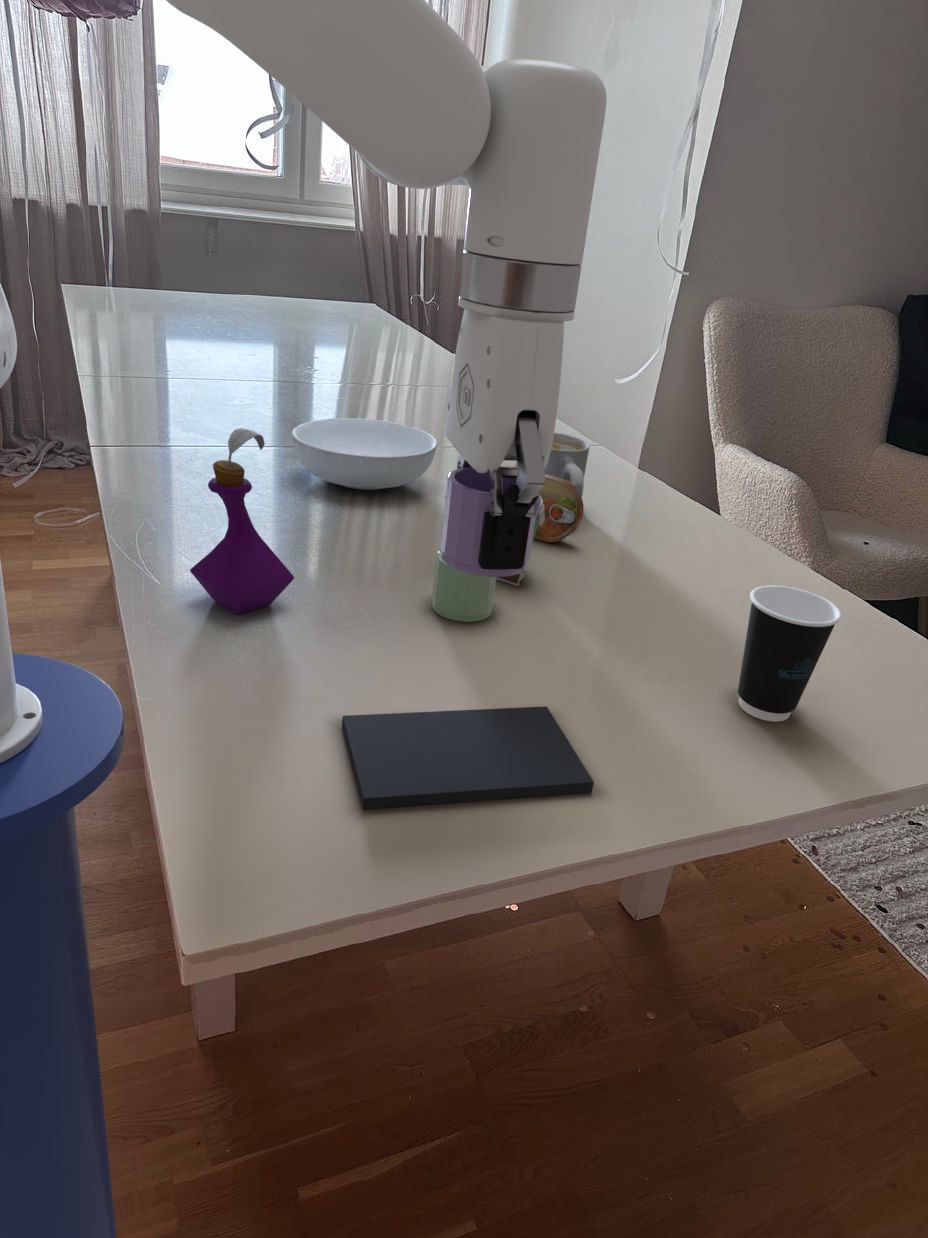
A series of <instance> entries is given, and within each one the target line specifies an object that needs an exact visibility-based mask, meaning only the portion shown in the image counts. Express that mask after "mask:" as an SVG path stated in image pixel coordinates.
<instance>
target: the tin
mask: <svg viewBox="0 0 928 1238" xmlns="http://www.w3.org/2000/svg"><path fill="white" fill-rule="evenodd" d="M500 467H503V468H519V467H516V465H503V466H501V465H500ZM539 495H540V497H541V498H542V500H543V504H544V513H545V521H544V522H543V524H542V525H539V521H538V525H537V528H536V532H535V536H534V539H535V540H538V541H541V542H545V543H557V542H560V541H563V540H565V539H566V538H567V537H569V536H571V535H572V534H574V533H575V532H576V531H577V530H578V528H579V527H580V525H581V524H582V520H583V517H584V502H583V501H584V499H583V496H582V497H581V495H580V493H579V492H578V490H577V489H576V487H575V486H574V485H573V484H571V483H570V482H568V481H567V480H565V479H562V478H558V477H554V476H550V475H546V474H545V484H544V486H543V488H542V489H541V490H540V494H539Z"/></svg>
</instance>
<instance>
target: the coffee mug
mask: <svg viewBox="0 0 928 1238" xmlns="http://www.w3.org/2000/svg"><path fill="white" fill-rule="evenodd" d="M589 452H590V444H589V443H588V442H587V441H585V440H584V439H583V438H579V437H577V436H573V435H571V434H567V433H562V432H555V431H554V436H553V442H552V447H551V452H550V457H549V461H548V464H547V467H546V468H545V469H544V470H545V474H546V475H550V476H554V477H558V478H562V479H565V480H567V481H568V482H570V483H571V484H573V485H574V486H575V487H576V489H577V490H578V492H579V493H580V495H581V497H582V498H583V493H584V486H585V475H586V470H587V469H586V468H587V463H588V458H589ZM515 466H516V467H518V461H515Z"/></svg>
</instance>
